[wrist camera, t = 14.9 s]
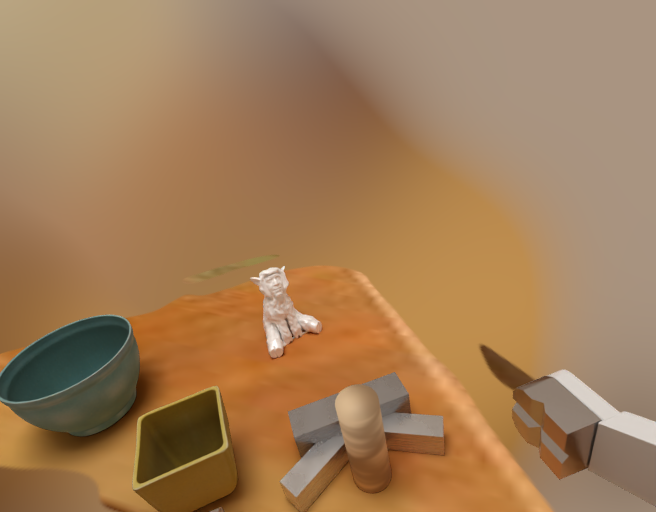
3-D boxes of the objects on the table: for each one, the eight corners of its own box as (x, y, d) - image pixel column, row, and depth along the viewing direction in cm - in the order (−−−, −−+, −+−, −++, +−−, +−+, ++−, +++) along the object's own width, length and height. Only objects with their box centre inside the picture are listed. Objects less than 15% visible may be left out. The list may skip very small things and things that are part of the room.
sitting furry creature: (273, 362, 58) (251, 297, 52) (249, 336, 64) (227, 275, 59) (324, 331, 62) (309, 267, 56) (297, 309, 69) (281, 250, 63)
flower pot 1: (160, 353, 65) (133, 300, 60) (161, 426, 51) (125, 366, 46) (56, 393, 61) (17, 340, 56) (26, 484, 47) (-30, 426, 42)
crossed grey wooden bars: (290, 519, 38) (278, 490, 36) (276, 448, 45) (265, 420, 43) (455, 450, 41) (453, 419, 39) (417, 394, 48) (414, 364, 46)
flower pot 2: (254, 502, 40) (228, 447, 36) (169, 543, 38) (130, 490, 34) (241, 435, 48) (217, 383, 43) (169, 467, 46) (137, 416, 41)
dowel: (361, 499, 38) (342, 427, 33) (348, 463, 42) (329, 393, 37) (398, 484, 39) (385, 410, 34) (382, 450, 43) (369, 378, 37)
